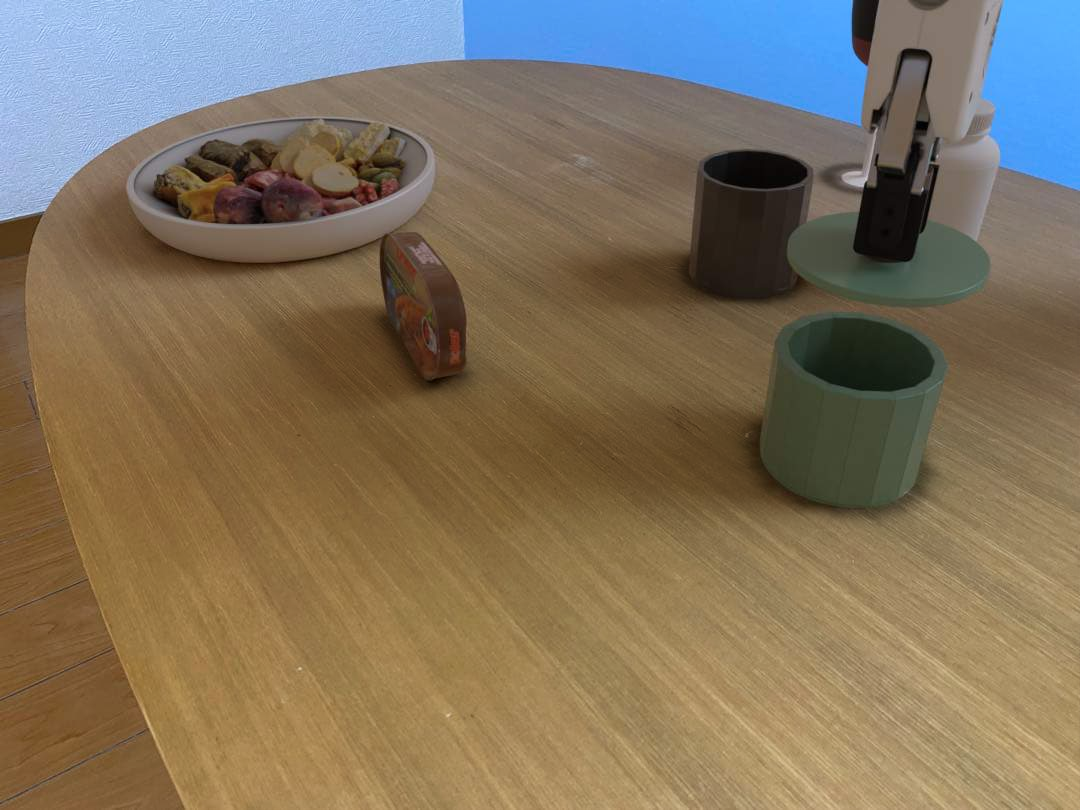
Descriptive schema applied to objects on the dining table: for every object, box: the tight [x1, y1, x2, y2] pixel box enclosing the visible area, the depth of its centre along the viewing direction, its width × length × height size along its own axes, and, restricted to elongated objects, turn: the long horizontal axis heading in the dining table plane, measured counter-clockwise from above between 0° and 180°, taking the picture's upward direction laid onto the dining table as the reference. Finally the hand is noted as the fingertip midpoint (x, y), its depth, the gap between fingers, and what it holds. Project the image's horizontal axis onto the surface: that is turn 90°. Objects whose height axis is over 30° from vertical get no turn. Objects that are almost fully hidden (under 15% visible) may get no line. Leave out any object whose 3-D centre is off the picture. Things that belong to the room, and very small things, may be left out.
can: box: [759, 311, 949, 509], centre depth 60 cm, size 10×10×8 cm
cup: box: [688, 148, 815, 300], centre depth 81 cm, size 9×9×10 cm
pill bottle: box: [927, 97, 1001, 243], centre depth 80 cm, size 8×8×15 cm
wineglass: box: [841, 0, 879, 188], centre depth 95 cm, size 8×9×20 cm
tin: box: [379, 231, 468, 381], centre depth 72 cm, size 15×3×8 cm, turn 23°
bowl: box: [125, 115, 436, 264], centre depth 95 cm, size 30×30×8 cm
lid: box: [787, 164, 992, 308], centre depth 52 cm, size 11×11×6 cm
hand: (889, 239), depth 53 cm, fingers closed on lid, 3 cm apart
